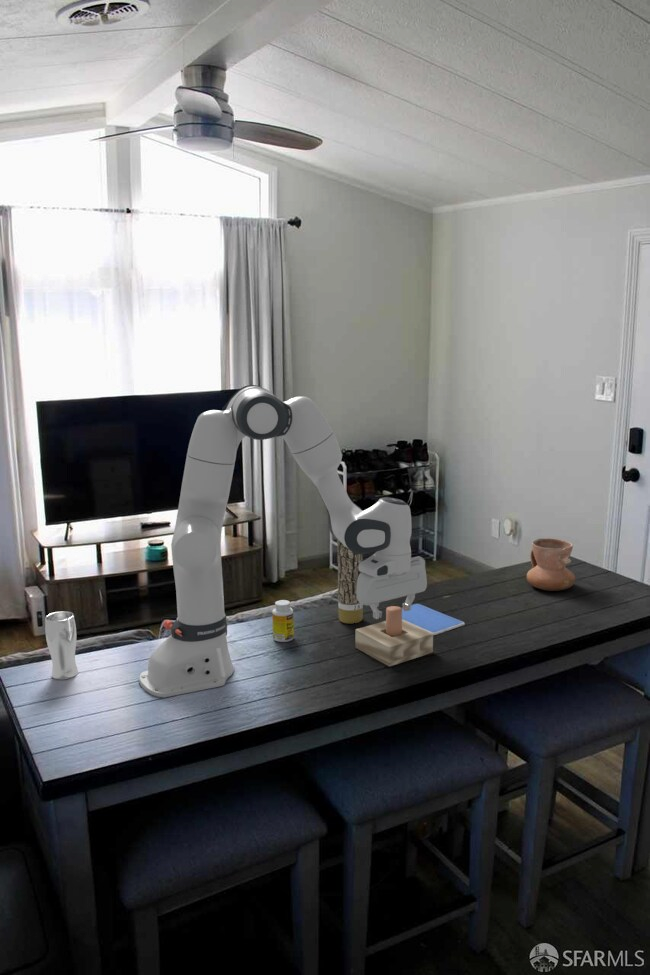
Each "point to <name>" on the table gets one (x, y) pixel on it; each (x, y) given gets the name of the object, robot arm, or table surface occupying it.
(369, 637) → the socket block
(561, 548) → the ceramic jug
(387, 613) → the dowel
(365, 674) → the table surface
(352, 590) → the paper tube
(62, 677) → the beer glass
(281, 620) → the supplement bottle
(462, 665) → the table surface
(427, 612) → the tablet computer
